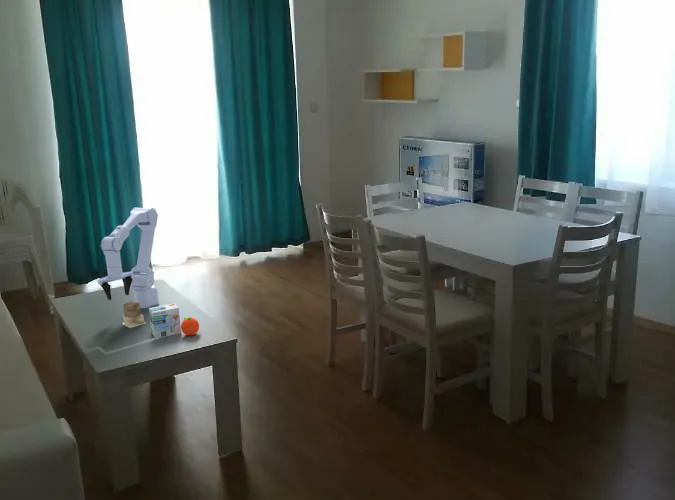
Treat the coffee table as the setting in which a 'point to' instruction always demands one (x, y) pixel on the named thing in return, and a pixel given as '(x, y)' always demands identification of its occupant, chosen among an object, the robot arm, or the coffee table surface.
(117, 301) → the coffee table surface
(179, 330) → the light bulb box
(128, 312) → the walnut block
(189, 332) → the clementine
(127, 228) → the robot arm
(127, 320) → the cream square block
